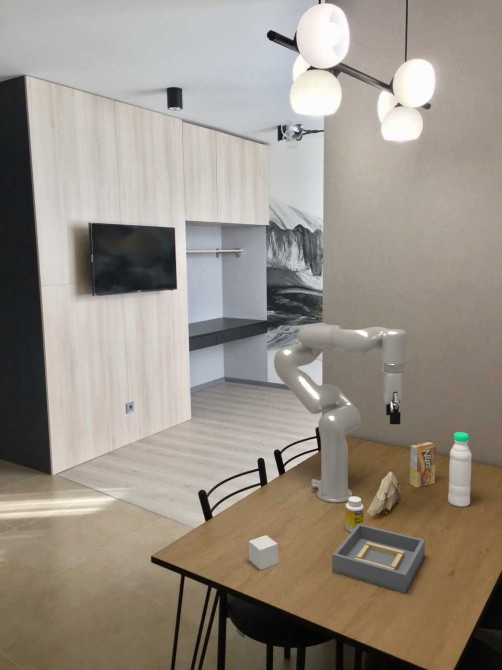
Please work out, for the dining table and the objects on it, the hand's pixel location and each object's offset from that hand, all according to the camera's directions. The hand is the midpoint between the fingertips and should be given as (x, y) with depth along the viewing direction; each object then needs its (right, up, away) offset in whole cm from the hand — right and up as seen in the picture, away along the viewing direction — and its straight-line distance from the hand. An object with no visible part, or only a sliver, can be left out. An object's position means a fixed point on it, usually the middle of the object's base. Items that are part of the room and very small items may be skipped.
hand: (392, 419), depth 178 cm
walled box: (-10, -37, -24) cm, 45 cm away
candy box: (+18, -29, +28) cm, 44 cm away
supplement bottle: (-13, -34, -5) cm, 37 cm away
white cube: (-43, -38, -22) cm, 61 cm away
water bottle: (+26, -31, +12) cm, 42 cm away
